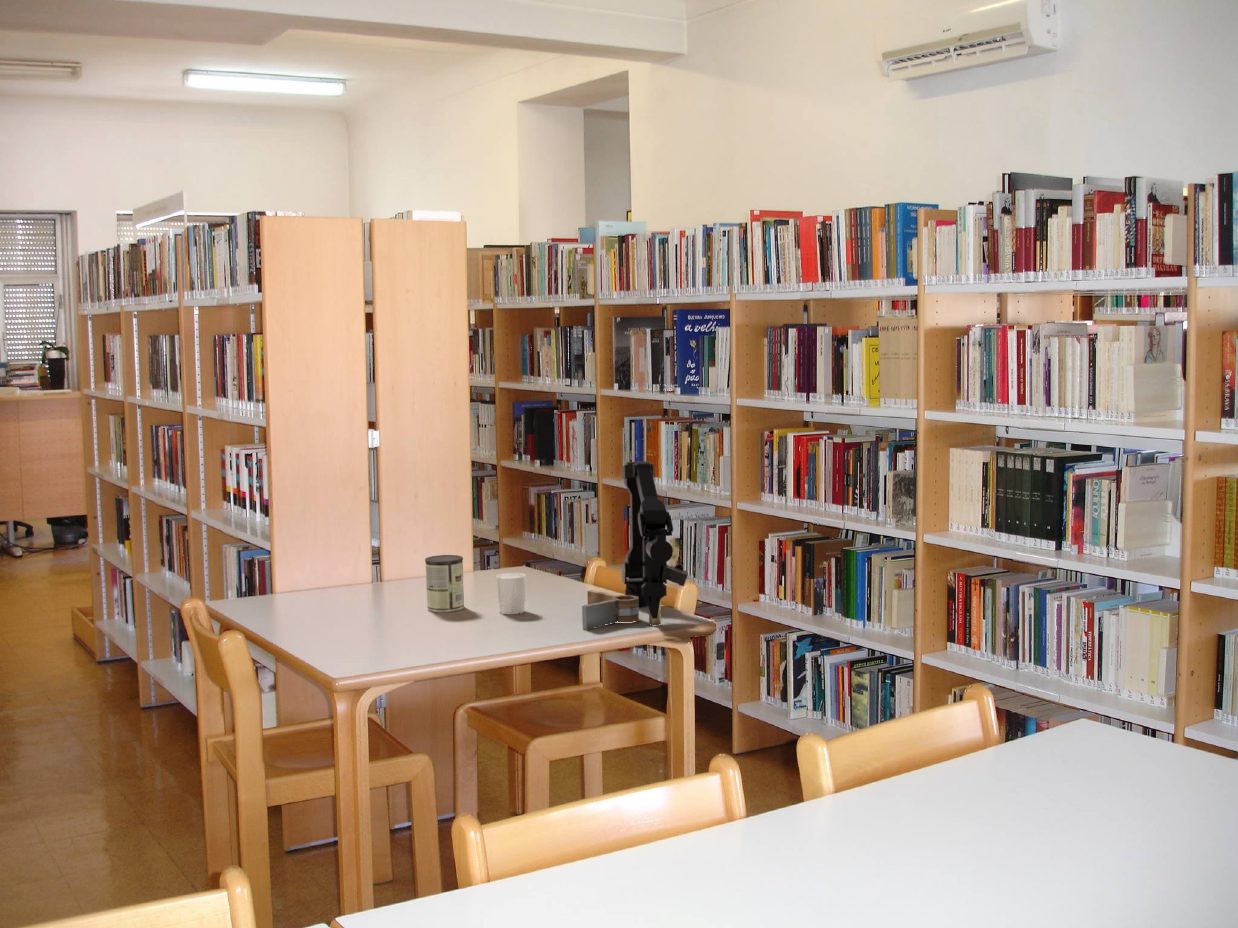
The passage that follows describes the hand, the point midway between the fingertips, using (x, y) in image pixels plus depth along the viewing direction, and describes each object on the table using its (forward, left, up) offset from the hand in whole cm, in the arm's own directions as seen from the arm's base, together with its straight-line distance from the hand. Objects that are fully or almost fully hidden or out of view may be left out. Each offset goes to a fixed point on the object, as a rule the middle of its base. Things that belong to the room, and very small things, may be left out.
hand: (654, 616), depth 301 cm
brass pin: (0, 0, -2) cm, 2 cm away
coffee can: (+26, -56, -2) cm, 62 cm away
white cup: (+16, -39, -2) cm, 42 cm away
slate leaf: (+7, -9, -2) cm, 12 cm away
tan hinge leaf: (+2, -14, -2) cm, 15 cm away
